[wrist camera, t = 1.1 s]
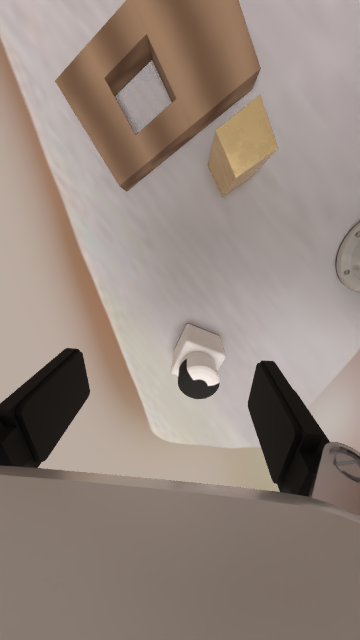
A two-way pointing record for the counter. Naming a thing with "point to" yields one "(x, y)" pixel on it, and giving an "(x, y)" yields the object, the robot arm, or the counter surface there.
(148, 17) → the walnut square hole board
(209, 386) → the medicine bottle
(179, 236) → the counter surface
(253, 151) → the brass peg
